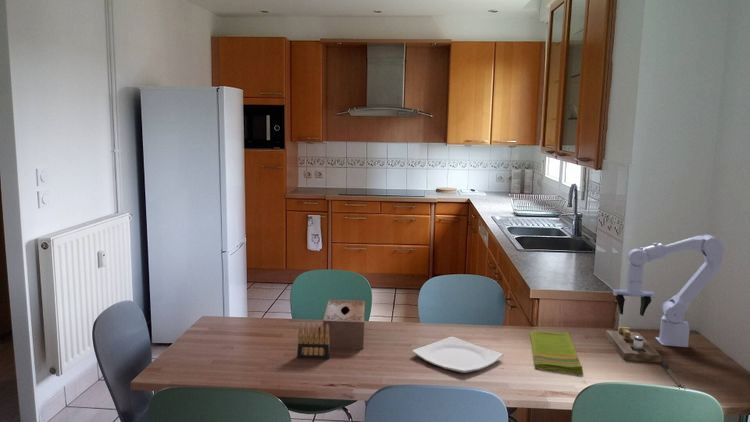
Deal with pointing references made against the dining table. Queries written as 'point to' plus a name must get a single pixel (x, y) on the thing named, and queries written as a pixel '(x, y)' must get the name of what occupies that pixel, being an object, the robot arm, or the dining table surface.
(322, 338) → the ammunition clip
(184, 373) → the dining table surface
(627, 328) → the key
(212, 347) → the dining table surface
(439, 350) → the plate
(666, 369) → the tactical tomahawk
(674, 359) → the dining table surface
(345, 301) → the tissue box cover
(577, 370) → the dish towel
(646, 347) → the board
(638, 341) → the peg
